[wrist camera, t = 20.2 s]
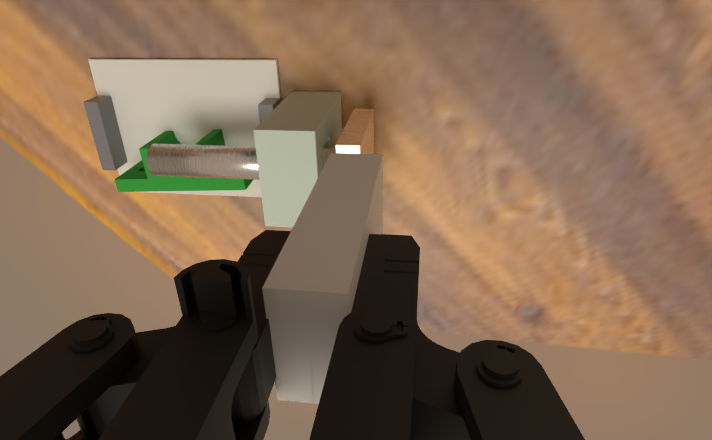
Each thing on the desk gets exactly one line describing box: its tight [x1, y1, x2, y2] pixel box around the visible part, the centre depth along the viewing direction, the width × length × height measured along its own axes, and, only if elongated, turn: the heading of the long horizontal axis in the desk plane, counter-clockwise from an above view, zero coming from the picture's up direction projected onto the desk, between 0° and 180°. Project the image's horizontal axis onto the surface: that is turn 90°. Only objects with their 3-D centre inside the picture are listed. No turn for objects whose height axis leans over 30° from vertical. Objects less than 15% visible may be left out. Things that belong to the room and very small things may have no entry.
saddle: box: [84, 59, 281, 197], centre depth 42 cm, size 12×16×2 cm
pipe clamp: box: [115, 129, 253, 192], centre depth 42 cm, size 11×4×5 cm, turn 95°
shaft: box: [146, 109, 374, 180], centre depth 36 cm, size 6×16×8 cm, turn 91°
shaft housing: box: [253, 91, 342, 227], centre depth 38 cm, size 7×4×10 cm, turn 1°
